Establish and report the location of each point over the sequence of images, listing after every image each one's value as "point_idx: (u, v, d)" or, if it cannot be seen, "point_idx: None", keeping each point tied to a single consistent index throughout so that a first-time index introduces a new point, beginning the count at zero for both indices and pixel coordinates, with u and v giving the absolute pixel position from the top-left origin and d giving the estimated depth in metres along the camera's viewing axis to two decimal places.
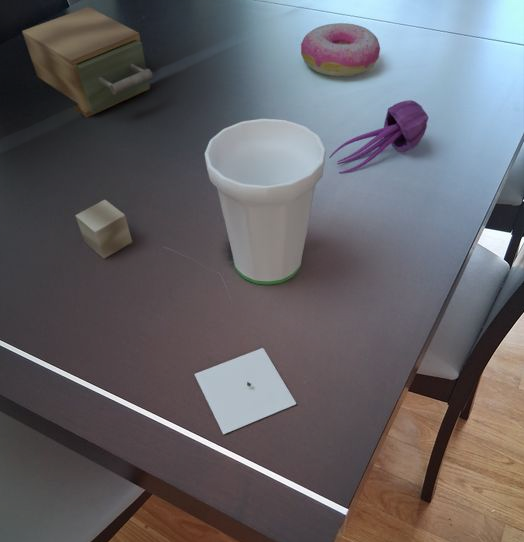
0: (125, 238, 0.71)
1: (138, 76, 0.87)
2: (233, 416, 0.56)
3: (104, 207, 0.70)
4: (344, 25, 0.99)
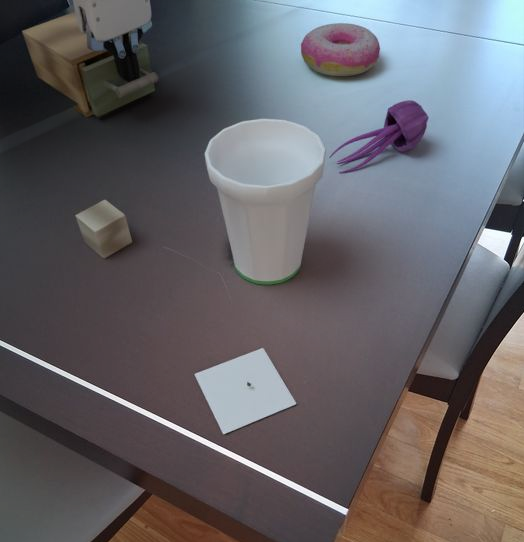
0: (125, 238, 0.71)
1: (144, 79, 0.86)
2: (233, 416, 0.56)
3: (104, 207, 0.70)
4: (344, 25, 0.99)
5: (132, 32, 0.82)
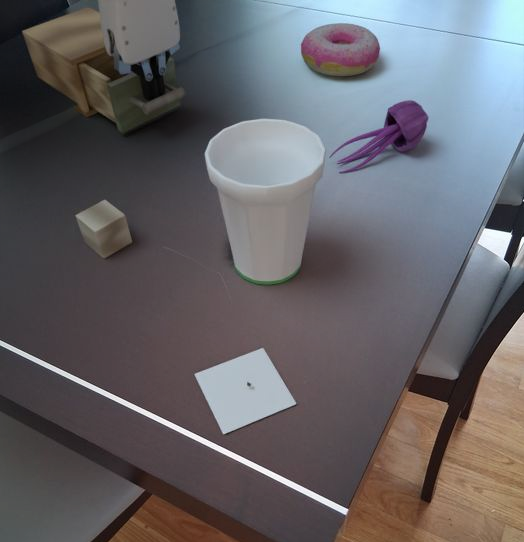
0: (125, 238, 0.71)
1: (171, 95, 0.83)
2: (233, 416, 0.56)
3: (104, 207, 0.70)
4: (344, 25, 0.99)
5: (160, 55, 0.80)
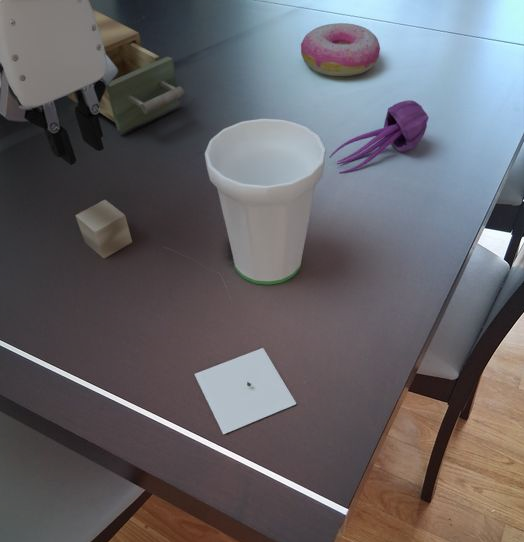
0: (125, 238, 0.71)
1: (170, 94, 0.83)
2: (233, 416, 0.56)
3: (104, 207, 0.70)
4: (344, 25, 0.99)
5: (86, 90, 0.57)
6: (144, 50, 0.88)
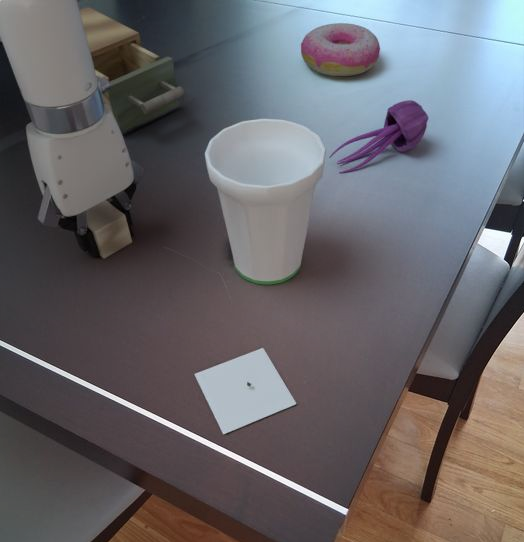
0: (125, 238, 0.71)
1: (170, 94, 0.83)
2: (233, 416, 0.56)
3: (104, 207, 0.70)
4: (344, 25, 0.99)
5: (118, 194, 0.68)
6: (144, 50, 0.88)
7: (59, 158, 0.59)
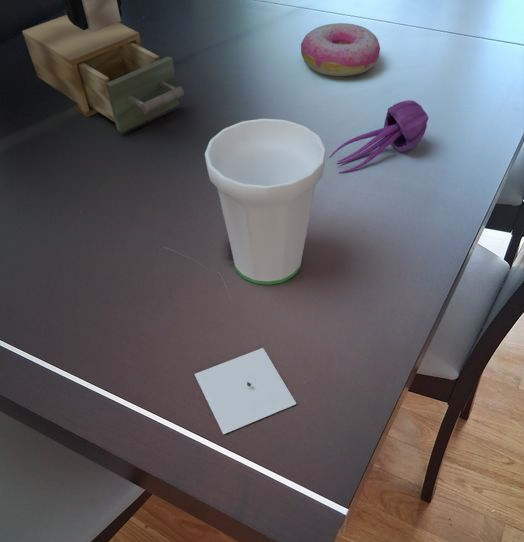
0: (113, 14, 0.73)
1: (170, 94, 0.83)
2: (233, 416, 0.56)
3: None
4: (344, 25, 0.99)
5: None
6: (144, 50, 0.88)
7: None
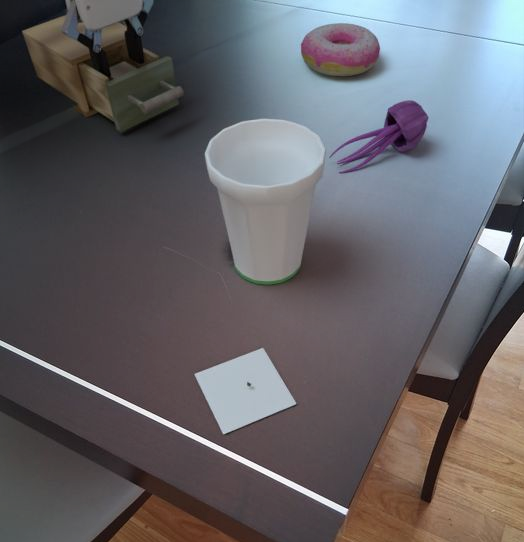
0: None
1: (169, 94, 0.84)
2: (233, 416, 0.56)
3: (123, 65, 0.89)
4: (344, 25, 0.99)
5: (132, 18, 0.83)
6: (143, 50, 0.88)
7: None
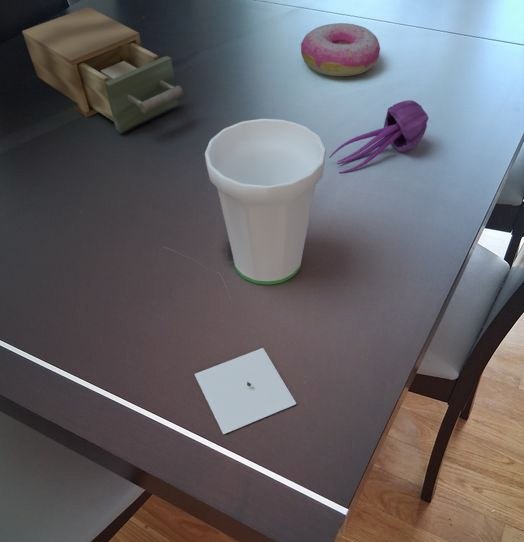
0: None
1: (168, 93, 0.84)
2: (233, 416, 0.56)
3: (123, 65, 0.89)
4: (344, 25, 0.99)
5: None
6: (143, 49, 0.88)
7: None
